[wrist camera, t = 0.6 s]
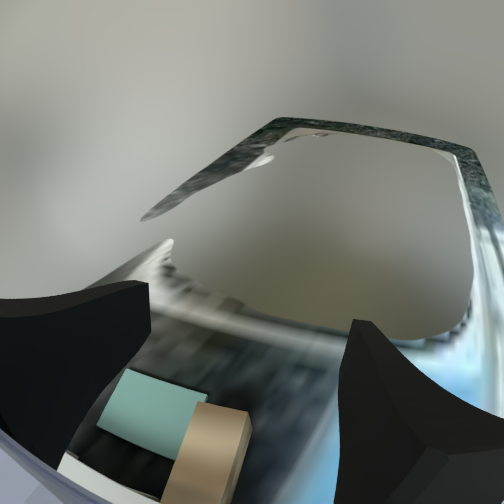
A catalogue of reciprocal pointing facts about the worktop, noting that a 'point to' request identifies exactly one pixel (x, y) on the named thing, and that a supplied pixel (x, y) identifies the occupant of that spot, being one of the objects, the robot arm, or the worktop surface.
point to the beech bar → (209, 457)
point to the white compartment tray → (101, 483)
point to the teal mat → (150, 413)
